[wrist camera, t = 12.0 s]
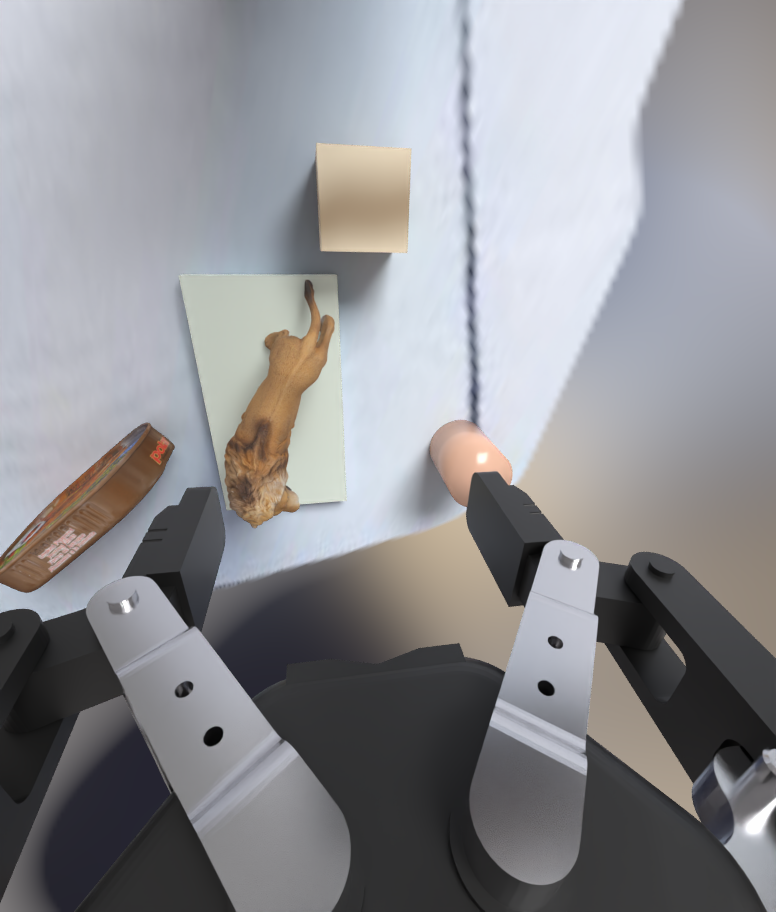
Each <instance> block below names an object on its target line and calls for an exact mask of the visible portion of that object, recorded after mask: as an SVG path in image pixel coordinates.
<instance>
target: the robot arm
mask: <svg viewBox="0 0 776 912" xmlns="http://www.w3.org/2000/svg"><path fill="white" fill-rule="evenodd" d="M466 517H467V518H466V519H467V525H468V528H469V531H470V533H471V535H472V537H473V539H474V540H475V542H476V544H477V546H478V548H479V550H480V552H481V554H482V556H483V558H484V560H485V562H486V564H487V566H488V567H489V569H490V571H491V573H492V575H493V577H494V579H495V581H496V583H497V585H498V587H499V589H500V591H501V592H502V595H503V596H504V598H505V600H506V602H507V604H508V606H509V607H512V606H520V605H524V607H525V610H524V613H523V616H522V620H521V623H520V626H519V630H518V633H517V636H516V639H515V643H514V646H513V649H512V653H511V656H510V660H509V662H508V666H507V669H506V672H504V671H502V670H501V669H499V668H497V667H495V666H493V665H491V664H489V663H486V662H483V661H480V660H476V659H472V658H467V657H464V655H463V652H462V650H461V647H460V644H459V643H458V644H449V645H441V646H433V647H426V648H418V649H416V650H413V651H411V652H408V653H405V654H403V655H400V656H398V657H395V658H393V659H390V660H387V661H385V662H382V663H379V664H371V663H361V662H353V661H345V660H335V659H327V660H319V661H311V662H302V663H294V664H287V676H286V680H283V681H280V682H278V683H276V684H274V685H272V686H270V687H268V688H267V689H265V690H264V691H262V692H260V693H259V694H257V695H256V696H255V697H254V698H252V699H250V697H249V696H248V695H247V694H246V692H245V691H244V689H243V688H242V687H241V685H240V684H239V683H238V681H237V680H236V679H235V677H234V676H233V675H232V674H231V672H230V671H229V670H228V668H227V667H226V665H225V664H224V663H223V661H222V660H221V659H220V657H219V656H218V655H217V653H216V652H215V651H214V649H213V648H212V647H211V646H210V644H209V643H208V641H207V640H206V639H205V637H204V636H203V635H202V633H201V631H202V627H203V624H204V620H205V616H206V613H207V609H208V605H209V602H210V598H211V594H212V591H213V587H214V584H215V580H216V576H217V573H218V569H219V565H220V562H221V558H222V554H223V551H224V546H225V528H224V523H223V518H222V513H221V507H220V502H219V497H218V493H217V489H216V488H215V487H196V488H187V489H186V491H185V493H184V495H183V497H182V499H181V502H180V504H179V505H174V506H168V507H167V508H165V509H164V510H163V511H162V512H161V513H159V514H158V515H157V516H156V517H155V518H154V520H153V522H152V524H151V525H150V527H149V529H148V532H147V533H146V535H145V537H144V538H143V543H141V544H140V546H139V548H138V549H137V551H136V553H135V555H134V557H133V559H132V560H131V562H130V564H129V566H128V568H127V570H126V572H125V573H124V575H123V577H122V579H119V580H117V581H114V582H112V583H110V584H108V585H107V586H105V587H103V588H102V589H101V590H99V591H98V592H97V593H96V594H95V595H94V596H93V597H92V598H91V600H90V601H89V603H88V605H87V608H85V609H83V610H80V611H77V612H74V613H71V614H67V615H64V616H61V617H58V618H54V619H51V620H48V621H45V622H42V620H41V618H40V616H39V615H38V614H37V613H36V612H35V611H33V610H29V609H16V610H10V611H6V612H3V613H0V902H1V900H2V897H3V895H4V892H5V890H6V888H7V885H8V883H9V880H10V878H11V876H12V873H13V871H14V868H15V866H16V863H17V861H18V859H19V856H20V854H21V852H22V849H23V847H24V844H25V842H26V840H27V837H28V835H29V832H30V830H31V828H32V825H33V823H34V820H35V818H36V816H37V813H38V811H39V808H40V806H41V804H42V801H43V799H44V796H45V794H46V792H47V789H48V787H49V784H50V782H51V780H52V777H53V775H54V772H55V770H56V768H57V765H58V763H59V761H60V758H61V756H62V753H63V751H64V749H65V746H66V744H67V741H68V738H69V736H70V734H71V732H72V729H73V727H74V724H75V722H76V720H77V717H78V715H79V713H80V711H83V710H85V709H88V708H90V707H93V706H95V705H98V704H100V703H103V702H105V701H108V700H110V699H113V698H115V697H118V696H120V695H123V696H124V698H125V700H126V702H127V704H128V706H129V708H130V710H131V713H132V715H133V717H134V719H135V720H136V723H137V725H138V727H139V729H140V731H141V733H142V735H143V737H144V739H145V741H146V743H147V745H148V747H149V749H150V751H151V753H152V755H153V757H154V759H155V762H156V763H157V766H158V768H159V770H160V772H161V774H162V776H163V778H164V781H165V783H166V784H167V787H168V789H169V791H170V793H171V794H170V796H169V797H168V798H167V799H166V800H165V801H164V803H163V804H162V805H161V806H160V808H159V809H158V810H157V811H156V813H155V814H154V815H153V816H152V817H151V819H150V820H149V821H148V822H147V823H146V825H145V826H144V827H143V828H142V830H141V831H140V832H139V833H138V835H137V836H136V837H135V838H134V839H133V841H132V842H131V843H130V844H129V846H128V847H127V848H126V849H125V850H124V852H123V853H122V854H121V855H120V857H119V858H118V859H117V860H116V861H115V863H114V864H113V865H112V866H111V867H110V869H109V870H108V871H107V872H106V874H105V875H104V876H103V877H102V879H101V880H100V881H99V882H98V883H97V885H96V886H95V887H94V888H93V890H92V891H91V892H90V893H89V894H88V896H87V897H86V898H85V899H84V901H83V902H82V903H81V904H80V905H79V907H78V908H77V909H76V910H75V912H776V658H775V657H773V655H771V653H770V652H769V651H768V650H767V649H765V647H763V646H762V645H761V644H760V643H759V642H758V641H757V640H756V639H755V638H754V637H753V636H752V635H751V634H750V633H749V632H748V631H747V630H746V629H745V628H744V627H743V626H742V625H741V624H740V623H739V622H738V621H737V620H736V619H735V618H734V617H733V616H732V615H731V614H730V613H729V612H728V611H727V610H726V609H725V608H724V607H723V606H722V605H721V604H720V603H719V602H718V601H717V600H716V599H715V598H714V597H713V596H712V595H711V594H710V593H709V592H708V591H707V590H706V589H705V588H704V587H703V586H702V585H701V584H700V583H699V582H698V581H697V580H696V579H695V578H694V577H693V576H692V575H691V574H690V573H689V572H688V571H687V570H686V569H685V568H684V567H683V566H681V565H680V564H678V563H677V562H675V561H673V560H672V559H670V558H668V557H665V556H663V555H660V554H656V553H651V552H639V553H636V554H634V555H633V556H632V558H631V560H630V562H629V565H628V566H625V565H618V564H612V563H605V562H599V561H598V559H597V557H596V556H595V555H594V554H593V553H592V552H591V551H590V550H589V549H587V548H586V547H584V546H582V545H580V544H578V543H575V542H572V541H567V540H564V539H563V538H562V537H561V536H560V535H559V533H558V532H557V531H556V529H554V527H553V526H552V524H551V523H550V522H549V521H548V519H547V518H546V517H545V516H544V515H543V514H541V511H540V510H539V508H538V507H537V506H535V503H534V502H533V501H532V500H531V498H530V497H529V496H528V495H527V494H526V493H525V492H523V491H522V490H520V489H519V488H517V487H516V486H514V485H508V484H507V483H506V481H505V480H504V479H503V478H502V476H501V475H500V474H499V472H497V471H492V472H475V473H474V474H473V475H472V478H471V484H470V491H469V498H468V504H467V511H466ZM666 633H667V634H668V636H669V637H670V638H671V639H672V641H673V642H674V643H675V644H676V646H677V647H678V648H679V649H680V651H681V652H682V654H683V656H684V659H685V663H686V666H685V665H684V664H683V662H682V661H681V660H680V659H679V657H678V656H677V655H676V654H675V652H674V651H673V650H672V648H671V647H670V646H669V645H668V643H667V642H666V641H665V639H664V636H665V635H666ZM596 642H602V643H605V645H606V646H607V648H608V650H609V651H610V653H611V654H612V656H613V657H614V659H615V661H616V662H617V664H618V665H619V667H620V669H621V670H622V672H623V673H624V675H625V676H626V678H627V680H628V681H629V683H630V684H631V686H632V687H633V689H634V691H635V692H636V694H637V695H638V697H639V698H640V700H641V702H642V703H643V705H644V706H645V708H646V709H647V711H648V713H649V714H650V716H651V717H652V719H653V720H654V722H655V724H656V725H657V727H658V728H659V730H660V732H661V733H662V735H663V736H664V738H665V739H666V741H667V743H668V744H669V746H670V747H671V749H672V751H673V752H674V754H675V755H676V757H677V758H678V760H679V761H680V763H681V765H682V766H683V768H684V770H685V771H686V773H687V774H688V776H689V777H690V779H691V781H692V782H693V787H692V800H693V805H694V807H695V810H696V813H697V814H698V817H699V819H700V821H701V822H700V821H698V820H697V819H696V818H694V816H692V815H691V814H690V813H688V812H687V811H686V810H685V809H683V808H682V807H681V806H679V805H678V804H677V803H676V802H674V801H673V800H672V799H670V798H669V797H668V796H666V795H665V794H664V793H663V792H661V791H660V790H659V789H657V788H656V787H655V786H653V785H652V784H651V783H650V782H648V781H647V780H646V779H644V778H643V777H642V776H640V775H639V774H638V773H637V772H635V771H634V770H633V769H631V768H630V767H629V766H628V765H626V764H625V763H624V762H622V761H621V760H620V759H618V758H617V757H616V756H614V755H613V754H612V753H611V752H609V751H608V750H606V749H605V748H604V747H603V746H602V745H600V744H599V743H597V742H596V741H595V740H594V739H592V738H591V737H590V736H589V735H587V724H588V715H589V705H590V696H591V686H592V676H593V667H594V657H595V647H596Z"/></svg>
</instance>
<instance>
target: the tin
mask: <svg viewBox="0 0 776 912" xmlns="http://www.w3.org/2000/svg"><path fill="white" fill-rule="evenodd" d="M174 448H175V446H174V445H173V443H171V442H170V441H169V440H168V439H167V438H166V437H164V436H163V435H162V434H161V433H159V432H158V431H157V430H155V429H154V428H153V427H152V426H151V424H150V423H148V422H147V423H144V424H142V425H140V426H139V427H137V428H136V429H134V430H133V431H132V432H131V433H130V434H128V435H127V436H126V437H125V438H123V439H122V440H121V441H120V442H119V443H118V444H117V445H116V446H114V447H113V448H112V449H111V450H110V451H109V452H108V453H106V454H105V455H104V456H103V457H102V458H101V459H100V460H98V461H97V462H96V463H95V464H94V465H93V466H92V467H90V468H89V469H88V470H87V471H86V472H85V473H84V474H82V475H81V476H80V477H79V478H78V479H77V480H75V481H74V482H73V483H72V484H71V485H70V486H69V487H67V488H66V489H65V490H64V491H63V492H62V493H61V494H60V495H58V496H57V497H56V498H55V499H54V500H53V501H52V502H51V503H50V504H49V505H48V506H47V507H46V508H45V509H44V510H43V511H42V512H41V513H40V514H39V515H38V516H37V517H36V518H35V519H34V520H33V521H32V522H31V523H30V524H29V525H28V526H27V528H26V529H25V530H24V531H23V532H22V533H21V534H20V535H19V536H18V537H17V539H16V540H15V541H14V542H13V543H12V544H11V545H10V547H9V548H8V549H7V550H6V551H5V552H4V553H3V555H2V556H1V557H0V583H2V584H4V585H6V586H9V587H11V588H13V589H15V590H18V591H21V592H25V593H29V592H32V591H34V590H37V589H38V588H40V587H41V586H43V585H44V584H45V583H47V582H48V581H49V580H50V579H52V578H53V577H54V576H55V575H56V574H58V573H59V572H60V571H61V570H63V569H64V568H65V567H66V566H68V565H69V564H70V563H71V562H72V561H74V560H75V559H76V558H77V557H78V556H80V555H81V554H82V553H83V552H84V551H85V550H87V549H88V548H89V547H90V546H92V545H93V544H94V543H95V542H96V541H97V540H99V539H100V538H101V537H102V536H103V535H105V534H106V533H107V532H108V531H109V530H110V529H112V528H113V527H114V526H115V525H116V524H117V523H119V522H120V521H121V520H122V519H123V518H124V517H125V516H126V515H127V514H128V513H129V512H130V511H131V510H132V509H133V508H134V507H135V506H136V505H137V504H138V503H139V502H140V501H141V500H142V499H143V498H144V497H145V495H146V494H147V493H148V492H149V491H150V490H151V489H152V487H153V486H154V485H155V483H156V482H157V481H158V479H159V478H160V476H161V475H162V473H163V471H164V469H165V466H166V463H167V461H168V460H169V458H170V456H171V454H172V451H173V450H174Z"/></svg>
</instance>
